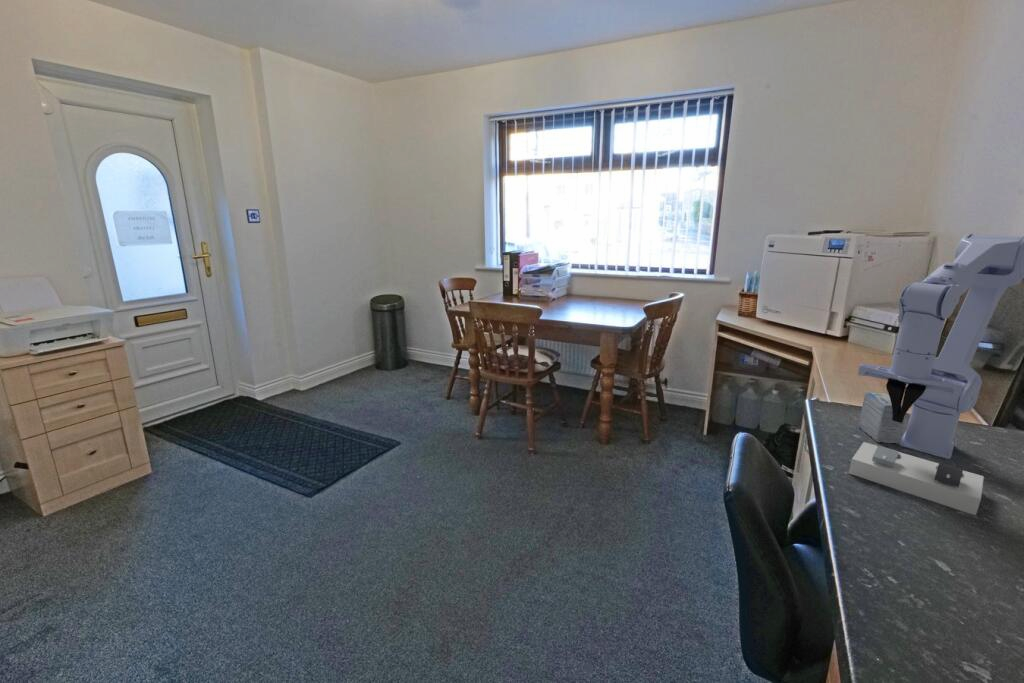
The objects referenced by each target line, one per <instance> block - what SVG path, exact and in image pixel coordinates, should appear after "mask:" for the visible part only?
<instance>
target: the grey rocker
mask: <svg viewBox="0 0 1024 683" xmlns="http://www.w3.org/2000/svg"><path fill="white" fill-rule="evenodd" d="M877 446H878V447H877V449H876V451H875V453H874V455H873V458H872V461H874V462H877V463H880V464H884V465H887V466H890V467H893V466H894V463H895V461H896V459H897V456H898V452H900V451H899V450H896V449H892V448H888V447H885V446H881V445H877Z"/></svg>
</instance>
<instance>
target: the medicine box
mask: <svg viewBox="0 0 1024 683" xmlns="http://www.w3.org/2000/svg"><path fill="white" fill-rule="evenodd" d="M863 397H864V398H863V402H862V407H861V411H860V415H859V419H858V423H857V424H858V425H857V427H858V426H859V427H860V428H861V429H860V428H859V427H858V428H859V429H860V430H861V431H863V432H864V433H865V434H866V433H867V434H866V435H868V436H869V437H870V436H871V437H872V438H871V437H870V438H871V439H872V440H874V441H875V442H876V443H880V442H883V443H882V444H891V443H897V444H896V445H899V443H900V441H901V439H902V435H903V434H902V433H903V429H904V425H905V420H906V416H907V413H906V414H905V416H904V419H903V421H902V423H900V422H896V421H892V416H893V413H892V404H891V400H890V396H889V394H888V393H885V392H884V393H883V392H882V393H881V392H865V393H864V396H863ZM902 403H903V402H902ZM902 403H901V407H902Z"/></svg>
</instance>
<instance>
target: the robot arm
mask: <svg viewBox="0 0 1024 683" xmlns="http://www.w3.org/2000/svg"><path fill="white" fill-rule="evenodd" d="M954 256H955V257H954V258H955V259H954V260H953V262H951V261H950V262H949V261H947V262H946V263H944V264H942V265H940V266H938V267H937V268H936V269H935V270H934V271H932V272H931V273H929V275H927V277H925V278H924V279H923V280H922V281H921V282H917V281H915V282H913V283H912V284H907V285H906V286H905V287H904V288H903V290H902V291H901V293H900V297H899V299H898V317H897V322H898V323H899V328H898V333H897V337H896V340H895V344H894V345H895V346H894V350H893V354H892V358H891V362H890V366H882V365H874V364H873V365H872V364H868V363H861V364H860V365H859V367H858V372H857V375H858V376H862V377H866V376H867V377H870V378H877V379H881V380H885V381H887V383H886V384H885V387H886V388H885V389H886V390H887V394H888V395H889V396H890V400H891V404H892V413H893V416H892V421H896V422H900V423H902V421H903V419H904V416H905V414H906V415H907V412H908V411H909V409H910V408H911V407H912V408H911V411H910V415H909V419H908V423H907V427H906V430H905V432H904V433H903V434H902V436H901V438H900V443H899V444H898V445H899V446H900V447H904V448H907V449H910V450H915V451H918V452H920V453H921V452H922V453H925V454H929V455H932V456H936V457H939V458H943V459H947V460H950V459H951V458H952V455H953V450H954V447H955V442H953V441H954V437H955V435H956V434H955V433H956V431H957V426H958V424H959V420H960V417H961V414H966V413H968V412H970V411H972V409H973V408H974V407H975V405H976V403H977V401H978V399H979V395H980V389H981V387H982V385H983V381H982V377H981V375H980V374H979V373H978V372H977V371H976V370H975V369H974V368H973V367H972V366H971V365H970V364H971V363H972V360H973V358H974V355H975V354H976V352H977V349H978V347H979V345H980V343H981V340H982V339H983V337H984V334H985V332H986V329H987V327H988V325H989V323H990V322H991V319H992V318H993V314H994V313H995V311H996V308H997V307H998V304H999V302H1000V300H1001V298H1002V296H1003V295H1004V293H1005V292H1006V290H1007V289H1008V288H1010V287H1012V286H1016V285H1019V284H1021V283H1022V281H1023V279H1024V235H1023V236H1022V235H1021V236H1020V235H991V234H990V235H989V234H974V233H967V234H966V235H965V236H963V237H962V238H961V239H960V240H959V242H958V244H957V246H956V251H955V255H954ZM966 291H968V292H967V294H966V296H965V298H964V301H963V303H962V305H961V307H960V309H959V312H958V314H957V316H956V318H955V320H954V322H953V325H952V327H951V328H950V331H949V333H948V335H947V337H946V339H945V341H944V344H943V346H942V348H941V350H940V353H939V354H938V356H937V353H938V349H939V344H940V341H941V337H942V333H943V329H944V326H945V321H946V320H947V319H948V318H950V317H951V316H952V314H953V313H954V311H955V309H956V307H957V305H958V304H959V302H960V297H961V296H962V295H963V294H965V292H966ZM936 356H937V357H936ZM901 403H902V407H901Z"/></svg>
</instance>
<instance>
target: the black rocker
mask: <svg viewBox="0 0 1024 683" xmlns="http://www.w3.org/2000/svg"><path fill="white" fill-rule="evenodd" d="M938 463H939V465H938V469H937V472H936V475H935V479H934V480H937V481H940V482H943V483H947V484H950V485H953V486H956V487H959V484H960V480H961V476H962V472H963V471H964V470H963V469H961V468H958V467H954V466H950V465H947V464H945V463H940V462H938Z"/></svg>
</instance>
